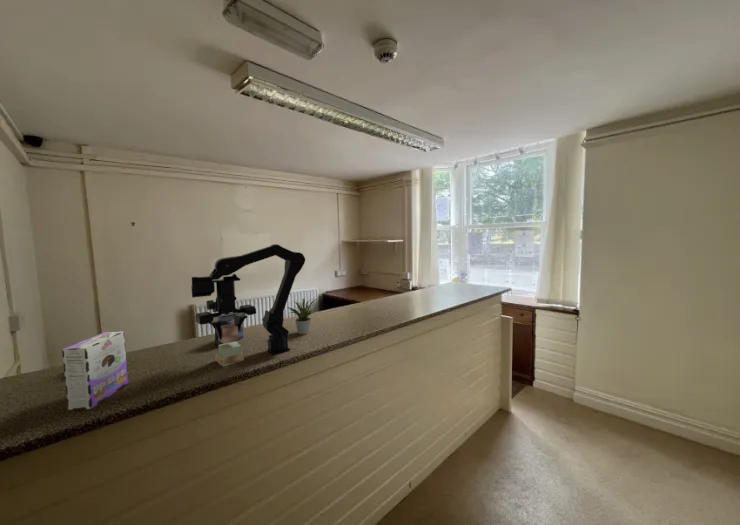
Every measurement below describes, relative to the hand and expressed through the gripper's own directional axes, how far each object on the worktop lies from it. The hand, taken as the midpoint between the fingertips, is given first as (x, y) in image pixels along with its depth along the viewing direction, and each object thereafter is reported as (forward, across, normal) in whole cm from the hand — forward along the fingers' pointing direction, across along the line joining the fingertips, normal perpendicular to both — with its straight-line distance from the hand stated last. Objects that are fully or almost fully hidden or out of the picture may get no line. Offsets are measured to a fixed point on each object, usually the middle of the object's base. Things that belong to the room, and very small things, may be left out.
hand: (228, 337), depth 105 cm
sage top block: (+6, 0, 0) cm, 6 cm away
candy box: (+9, +34, -2) cm, 35 cm away
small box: (+9, -8, -21) cm, 24 cm away
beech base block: (+9, 0, 0) cm, 9 cm away
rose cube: (+1, 0, 0) cm, 1 cm away
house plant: (+9, -37, -8) cm, 39 cm away
